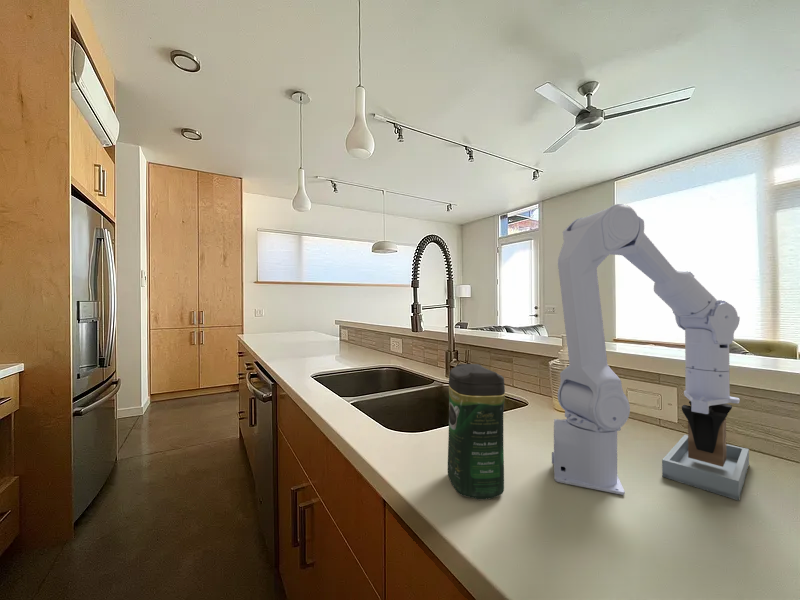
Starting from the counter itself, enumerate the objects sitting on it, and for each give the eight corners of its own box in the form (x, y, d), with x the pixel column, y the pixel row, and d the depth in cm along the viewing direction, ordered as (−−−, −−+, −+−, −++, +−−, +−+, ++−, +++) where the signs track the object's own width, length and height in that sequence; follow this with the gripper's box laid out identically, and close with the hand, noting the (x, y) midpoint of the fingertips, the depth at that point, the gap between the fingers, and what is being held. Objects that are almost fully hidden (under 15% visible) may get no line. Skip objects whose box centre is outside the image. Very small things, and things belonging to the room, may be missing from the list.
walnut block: (723, 466, 55) (722, 423, 55) (688, 457, 59) (688, 417, 59) (726, 459, 58) (726, 418, 58) (693, 450, 61) (692, 412, 62)
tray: (738, 500, 49) (738, 481, 49) (662, 476, 56) (662, 459, 56) (749, 464, 61) (748, 449, 61) (684, 448, 68) (684, 434, 68)
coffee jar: (512, 501, 48) (513, 371, 48) (458, 503, 47) (459, 371, 48) (488, 469, 58) (489, 360, 58) (442, 470, 57) (444, 360, 57)
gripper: (734, 377, 51) (735, 468, 51) (743, 367, 60) (744, 443, 60) (675, 370, 56) (675, 452, 56) (691, 362, 66) (692, 432, 65)
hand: (707, 447), depth 58 cm, fingers closed on walnut block, 4 cm apart
